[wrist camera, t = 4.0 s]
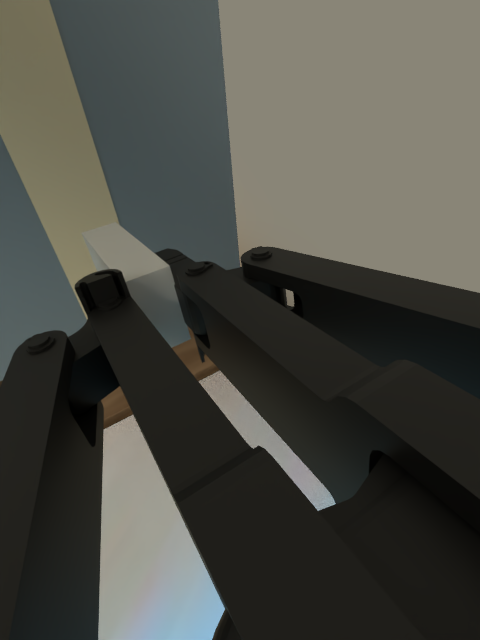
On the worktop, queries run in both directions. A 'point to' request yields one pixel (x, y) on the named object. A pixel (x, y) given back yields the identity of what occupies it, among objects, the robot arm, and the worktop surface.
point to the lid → (106, 146)
